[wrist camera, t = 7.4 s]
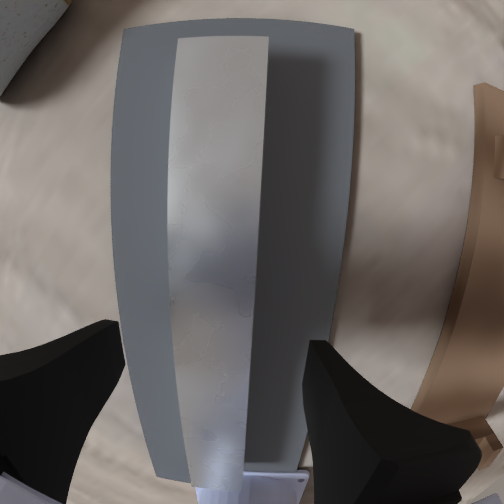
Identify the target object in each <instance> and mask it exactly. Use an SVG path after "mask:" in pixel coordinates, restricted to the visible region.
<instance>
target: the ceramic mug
mask: <svg viewBox="0 0 504 504" xmlns="http://www.w3.org/2000/svg"><path fill="white" fill-rule="evenodd" d="M71 2H72V0H0V96H1V95H2V93H3V91H4V90H5V88H6V87H7V85H8V84H9V82H10V81H11V79H12V78H13V77H14V75H15V74H16V72H17V71H18V70H19V68H20V67H21V65H22V64H23V63H24V61H25V60H26V58H27V57H28V56H29V54H30V53H31V52H32V51H33V49H34V48H35V47H36V46H37V44H38V43H39V42H40V41H41V40H42V38H43V37H44V36H45V35H46V34H47V33H48V32H49V30H50V29H51V28H52V27H53V26H54V25H55V24H56V22H57V21H58V20H59V19H60V17H61V16H62V15H63V13H64V12H65V11H66V10H67V8H68V7H69V5H70V4H71Z"/></svg>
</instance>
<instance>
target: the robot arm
mask: <svg viewBox="0 0 504 504" xmlns="http://www.w3.org/2000/svg"><path fill="white" fill-rule="evenodd" d="M124 367H125V359H124V354H123V348H122V342H121V336H120V330H119V323H118V321H112V320H106V319H105V320H101V321H98V322H96V323H93V324H91V325H88V326H86V327H84V328H82V329H79V330H77V331H75V332H73V333H70V334H68V335H66V336H63V337H61V338H58V339H56V340H53V341H51V342H48V343H46V344H43V345H40V346H37V347H34V348H31V349H27V350H24V351H20V352H16V353H10V354H5V355H0V504H66V501H67V496H68V491H69V487H70V483H71V480H72V476H73V473H74V469H75V466H76V463H77V460H78V458H79V455H80V452H81V449H82V447H83V444H84V442H85V440H86V437H87V435H88V432H89V430H90V428H91V427H92V425H93V423H94V421H95V419H96V418H97V416H98V415H99V413H100V411H101V410H102V408H103V406H104V405H105V403H106V402H107V400H108V398H109V397H110V395H111V393H112V392H113V390H114V389H115V387H116V385H117V383H118V381H119V379H120V376H121V374H122V372H123V369H124ZM302 394H303V408H304V413H305V419H306V424H307V430H308V435H309V440H310V446H311V451H312V458H313V472H314V504H458V503H459V502H460V501H461V499H462V497H461V494H460V492H459V489H460V488H461V487H462V486H463V484H464V483H465V482H466V481H467V480H468V479H469V477H470V476H471V475H472V474H473V473H474V471H475V470H476V468H477V467H478V465H479V463H480V461H481V458H482V451H481V449H480V448H479V446H478V444H477V442H476V441H475V439H474V437H473V436H472V434H471V433H470V431H469V430H466V429H462V428H458V427H455V426H451V425H447V424H444V423H441V422H438V421H436V420H433V419H431V418H428V417H425V416H423V415H421V414H419V413H417V412H415V411H413V410H411V409H409V408H407V407H405V406H403V405H401V404H400V403H398V402H396V401H395V400H393V399H391V398H390V397H388V396H387V395H385V394H384V393H383V392H381V391H380V390H378V389H377V388H376V387H374V386H373V385H372V384H371V383H369V382H368V381H367V380H366V379H365V378H363V377H362V376H361V375H360V374H359V373H358V372H357V371H356V370H355V369H354V368H352V367H351V366H350V365H349V364H348V363H347V362H346V361H345V360H344V358H343V357H342V356H341V355H340V354H339V353H338V352H337V351H336V350H335V349H334V348H333V347H332V346H331V345H330V344H329V343H328V342H327V341H326V340H309V347H308V353H307V358H306V364H305V370H304V375H303V381H302ZM309 477H310V476H309V471H307V470H296V472H280V471H254V470H244V473H243V484H242V492H232V491H222V490H213V489H206V488H199V487H195V488H196V494H197V499H198V504H299V502H300V500H301V497H302V495H303V492H304V490H305V487H306V484H307V482H308V479H309ZM472 504H502V502H501V500H500V498H499V496H498V494H496V493H495V494H493V495H490V496H488V497H486V498H484V499H481V500H479V501H477V502H474V503H472Z"/></svg>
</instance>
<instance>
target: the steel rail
mask: <svg viewBox="0 0 504 504" xmlns="http://www.w3.org/2000/svg"><path fill="white" fill-rule="evenodd" d="M268 66H269V37H266V36H206V37H189V38H178V43H177V51H176V60H175V70H174V80H173V91H172V104H171V118H170V135H169V157H168V196H167V234H168V275H169V297H170V314H171V329H172V342H173V354H174V365H175V375H176V384H177V393H178V401H179V409H180V417H181V424H182V431H183V438H184V444H185V451H186V457H187V463H188V468H189V474H190V479H191V485H192V487H199V488H206V489H213V490H222V491H232V492H242V484H243V473H244V462H245V448H246V433H247V419H248V404H249V389H250V374H251V359H252V343H253V328H254V312H255V296H256V280H257V263H258V247H259V230H260V213H261V196H262V178H263V160H264V142H265V124H266V105H267V86H268Z"/></svg>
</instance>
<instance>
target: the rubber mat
mask: <svg viewBox="0 0 504 504" xmlns="http://www.w3.org/2000/svg"><path fill="white" fill-rule="evenodd" d="M206 36H266V37H269V66H268V86H267V105H266V124H265V142H264V160H263V178H262V196H261V213H260V230H259V247H258V263H257V280H256V296H255V312H254V328H253V343H252V359H251V374H250V389H249V404H248V419H247V433H246V448H245V462H244V470H254V471H280V472H296V470H297V467H298V464H299V460H300V457H301V453H302V450H303V446H304V443H305V439H306V436H307V432H308V430H307V424H306V419H305V413H304V408H303V394H302V381H303V375H304V370H305V364H306V358H307V353H308V347H309V340H326V341H327V342H328V340H329V335H330V330H331V324H332V319H333V313H334V307H335V302H336V295H337V289H338V283H339V276H340V269H341V262H342V255H343V247H344V239H345V231H346V222H347V213H348V203H349V192H350V180H351V167H352V152H353V134H354V108H355V40H354V29H351V28H346V27H340V26H333V25H327V24H319V23H311V22H302V21H291V20H277V19H253V18H226V19H202V20H188V21H177V22H168V23H160V24H153V25H146V26H140V27H134V28H128V29H124V33H123V38H122V44H121V51H120V57H119V64H118V72H117V80H116V89H115V99H114V111H113V125H112V143H111V224H112V243H113V258H114V270H115V281H116V290H117V299H118V307H119V314H120V322H121V328H122V335H123V341H124V347H125V353H126V358H127V364H128V369H129V374H130V379H131V384H132V388H133V393H134V397H135V402H136V406H137V410H138V414H139V418H140V422H141V426H142V429H143V433H144V437H145V440H146V444H147V447H148V451H149V454H150V457H151V460H152V464H153V467H154V470H155V473H156V476H157V477H160V478H165V479H170V480H175V481H181V482H187V483H191V479H190V474H189V468H188V463H187V457H186V451H185V444H184V438H183V431H182V424H181V417H180V409H179V401H178V393H177V384H176V375H175V365H174V354H173V342H172V329H171V314H170V297H169V275H168V234H167V196H168V157H169V135H170V118H171V104H172V91H173V80H174V70H175V60H176V51H177V43H178V38H189V37H206Z"/></svg>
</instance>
